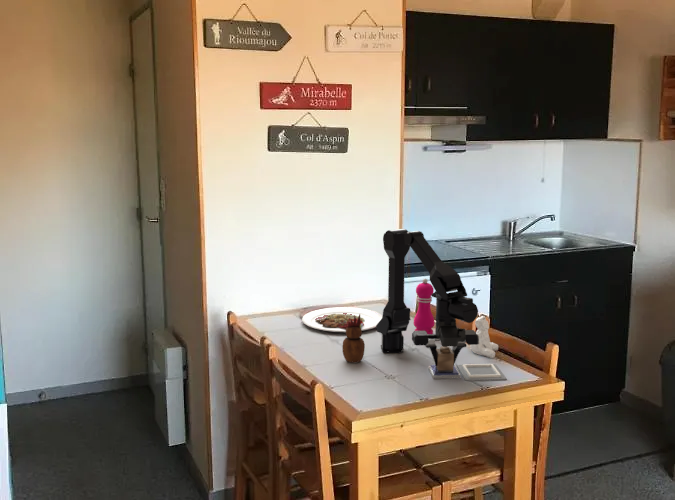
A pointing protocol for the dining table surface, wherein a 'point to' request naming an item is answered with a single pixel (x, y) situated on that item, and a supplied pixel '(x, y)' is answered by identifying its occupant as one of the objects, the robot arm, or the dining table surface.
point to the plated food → (341, 318)
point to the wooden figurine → (353, 342)
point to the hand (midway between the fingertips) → (444, 365)
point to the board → (481, 372)
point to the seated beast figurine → (484, 339)
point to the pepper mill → (424, 308)
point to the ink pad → (443, 373)
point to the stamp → (445, 359)
